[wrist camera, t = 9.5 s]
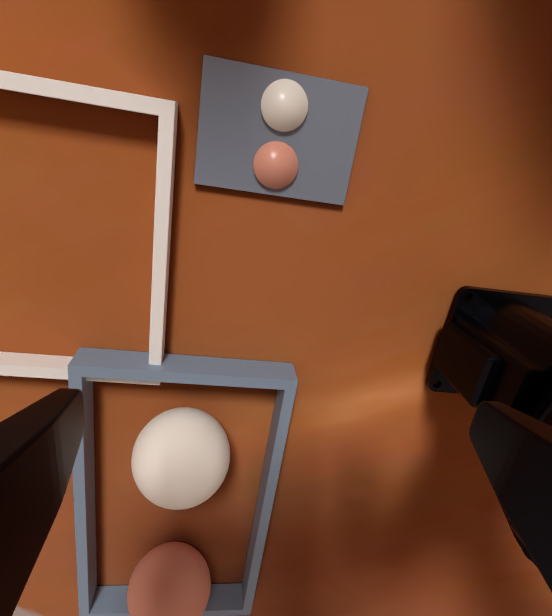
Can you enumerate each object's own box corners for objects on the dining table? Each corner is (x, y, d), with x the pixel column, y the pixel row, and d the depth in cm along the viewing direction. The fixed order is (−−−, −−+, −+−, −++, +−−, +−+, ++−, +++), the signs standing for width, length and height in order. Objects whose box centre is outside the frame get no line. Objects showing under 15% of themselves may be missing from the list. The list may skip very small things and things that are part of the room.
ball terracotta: (215, 523, 27) (213, 603, 22) (208, 574, 28) (205, 658, 24) (136, 523, 26) (118, 606, 21) (135, 575, 28) (117, 662, 23)
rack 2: (292, 363, 22) (298, 381, 21) (248, 588, 30) (250, 615, 28) (80, 347, 21) (67, 365, 19) (87, 591, 28) (79, 620, 26)
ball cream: (233, 390, 23) (237, 454, 18) (224, 459, 25) (226, 532, 20) (141, 386, 22) (122, 452, 17) (139, 457, 24) (121, 534, 19)
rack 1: (178, 103, 17) (175, 101, 16) (163, 372, 22) (159, 385, 21) (-192, 38, 15) (-225, 30, 14) (-116, 353, 20) (-136, 366, 18)
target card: (366, 88, 17) (370, 86, 17) (342, 204, 19) (344, 206, 19) (203, 56, 16) (203, 53, 16) (194, 182, 18) (193, 184, 18)
